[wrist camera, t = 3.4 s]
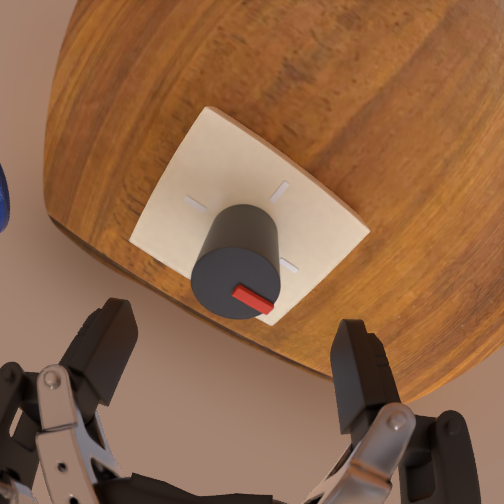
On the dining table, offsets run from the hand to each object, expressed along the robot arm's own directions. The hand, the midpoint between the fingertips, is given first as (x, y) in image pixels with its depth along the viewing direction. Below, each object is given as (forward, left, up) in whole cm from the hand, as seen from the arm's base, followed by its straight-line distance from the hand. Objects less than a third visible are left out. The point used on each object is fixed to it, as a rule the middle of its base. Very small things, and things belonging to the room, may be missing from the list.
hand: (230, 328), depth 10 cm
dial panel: (0, 0, -10) cm, 10 cm away
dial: (0, 0, -8) cm, 8 cm away
